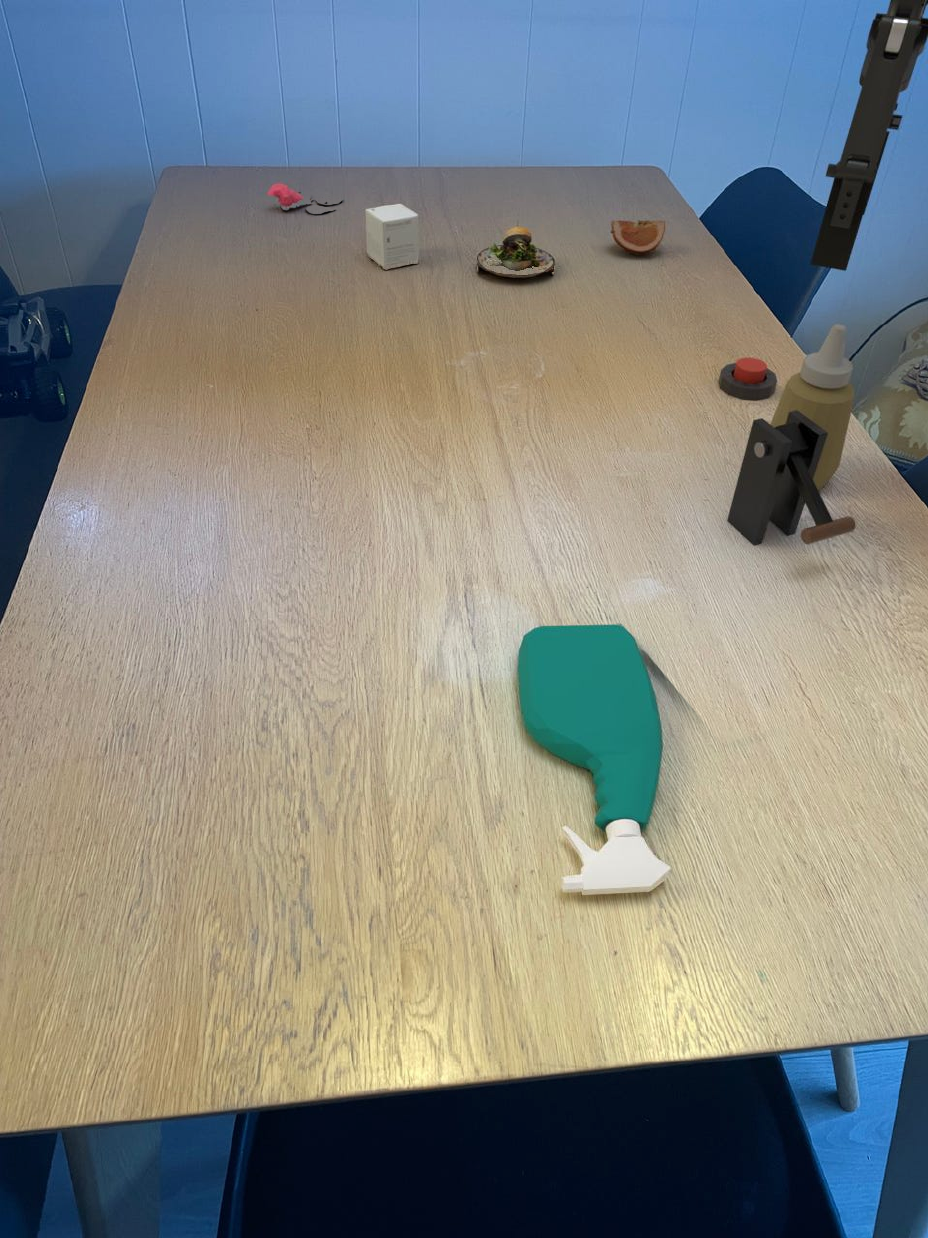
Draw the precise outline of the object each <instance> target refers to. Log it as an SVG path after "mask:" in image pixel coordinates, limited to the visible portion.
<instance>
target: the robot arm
mask: <svg viewBox="0 0 928 1238" xmlns="http://www.w3.org/2000/svg"><path fill="white" fill-rule="evenodd" d="M889 1H890V2H889V5H888V7H887V11H886V13H883V12H882V13H880V12H876V14H875V17H874V18H873V19H872V22H871V25H870V29H869V31H868V37H867V41H866V46H865V47H866V53H865V57H864V61H863V64H862V67H861V70H860V74H859V80H858V83H859V86H861V89H860V93H859V96H858V99H857V102H856V106H855V109H854V113H853V116H852V119H851V123H850V126H849V130H848V133H847V136H846V138H845V139H846V140H845V143H844V146H843V149H842V153H841V156H840V159H839V161H838V162H837V163H836V164H835V163H828V165H827V169H826V171H825V177H826V178H833V182H832V184H831V189H830V192H829V196H828V199H827V203H826V206H825V210H824V213H823V217H822V221H821V223H820V228H819V231H818V235H817V238H816V242H815V246H814V250H813V252H812V257H811V260H810V265H811V266H817V267H822V268H828V269H833V270H839V271H845V272H847V268H848V265H849V262H850V259H851V255H852V253H853V249H854V246H855V242H856V239H857V236H858V232H859V229H860V227H861V224H862V220H863V216H865V213H866V210H867V207H868V203H869V200H870V198H871V195H872V190H873V188H874V184H875V181H876V177H877V174H878V171H879V168H880V166H881V161H882V158H883V155H884V152H885V148H886V146H887V142H888V139H889V135H890V130H893V131H894V130H895V131H899V129H900V125H901V122H902V119H903V115H902V114H896V113H895V111H897V109H898V106H899V103H898V100H899V96H900V94H901V93H902V92H904V91H906V90H907V89H908V88H909V86H910V82H911V79H912V76H913V73H914V69H915V66H916V63H917V60H918V57H920V56H921V55H922V54H923V52H924V49H925V47H926V43H927V41H928V17H924V15H925V12H926V8H927V6H928V0H889Z"/></svg>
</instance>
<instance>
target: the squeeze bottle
mask: <svg viewBox="0 0 928 1238" xmlns="http://www.w3.org/2000/svg"><path fill="white" fill-rule="evenodd" d="M846 333H847V326H846V325H843V324H839V323H835V324H834V325H833V326H832V327H831V329H830V331H829V332H828V334H827V336H826V338H825V340H824V341H823V344H821V345H822V346H821V347H820V349H819V350H818V352H816V351H815V352H812V353H809V354H806V355H805V357H804V358H803V362H802V363H801V367H800V371H799V372H798V373H794V374H793V375H791V376H790V377H789V379H788V380H787V382H786V384H785V386H784V389H783V392H782V394H781V396H780V399H779V401H778V404H777V407H776V408H775V411H774V413H773V417H772V419H771V421H770V423H769V424H770V425H772V426H773V427H774V428H775V427H776V426H780V425H784V424H786V420H787V417H788V413H789V412H791V411H795V410H798V411H799V412H800V413H802V414H803V415H805V416H806V417H807V418H809V419H810V420H811V421H813V422H814V423H815V424H817V425H818V426H819V427H821V428H822V429H824V430H825V431H826V432H828V435H827V438H826V441H825V444H824V447H823V450H822V453H821V457H820V460H819V463H818V466H817V469H816V472H815V475H814V478H813V481H814V483H815V485H816V487H817V489H818V491H819V490H821V489H823V488H824V487H825V485H826V484H827V483H828V482H829V481H830V480H831V478H832V477H833V476H834V475H835V473H836V471H837V470H838V468H839V467H840V465H841V460H842V456H843V451H844V446H845V442H846V438H847V432H848V428H849V424H850V419H851V415H852V410H853V405H854V402H855V401H854V400H855V396H856V391H855V388H854V387H853V385H852V384H851V383H850V379H851V376H852V373H853V371H854V366H853V362H851V361H850V360H849V359H848V358H846V357H845V350H846V349H845V347H846V335H847V334H846Z"/></svg>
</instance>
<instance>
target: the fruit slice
mask: <svg viewBox="0 0 928 1238" xmlns="http://www.w3.org/2000/svg"><path fill="white" fill-rule="evenodd" d="M610 223H611V230H610V234H612V238H613V241H614V242H615V243H616V244H617V245H618V246H619V247H620V248H621V249H622V250H624V251H625V252H626V253H629V254H632V255H635V254H638V255H637V256H642V255H641V254H643V255H646V254H649V253H651V252H652V251H654V250H655V249H657V248H658V247H659V245H660V244H661V242H662V241H663V239H664V236H665V232H666V221H665V220H637V221H632V220H614V219H613V220H611V222H610Z"/></svg>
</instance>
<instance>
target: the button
mask: <svg viewBox="0 0 928 1238" xmlns="http://www.w3.org/2000/svg"><path fill="white" fill-rule="evenodd" d="M735 363H736V366H735V370H734V375H733V376H734V378H735V379H736V380H738V381H741V382H744V383H750V384H758V383H762V382H763V381H764V377H765V373H766V370H767V368H768V365H767V363H766V362H764V360H761V359H759V358H755V357H741V358H738V359H737V360H736V362H735Z"/></svg>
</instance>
